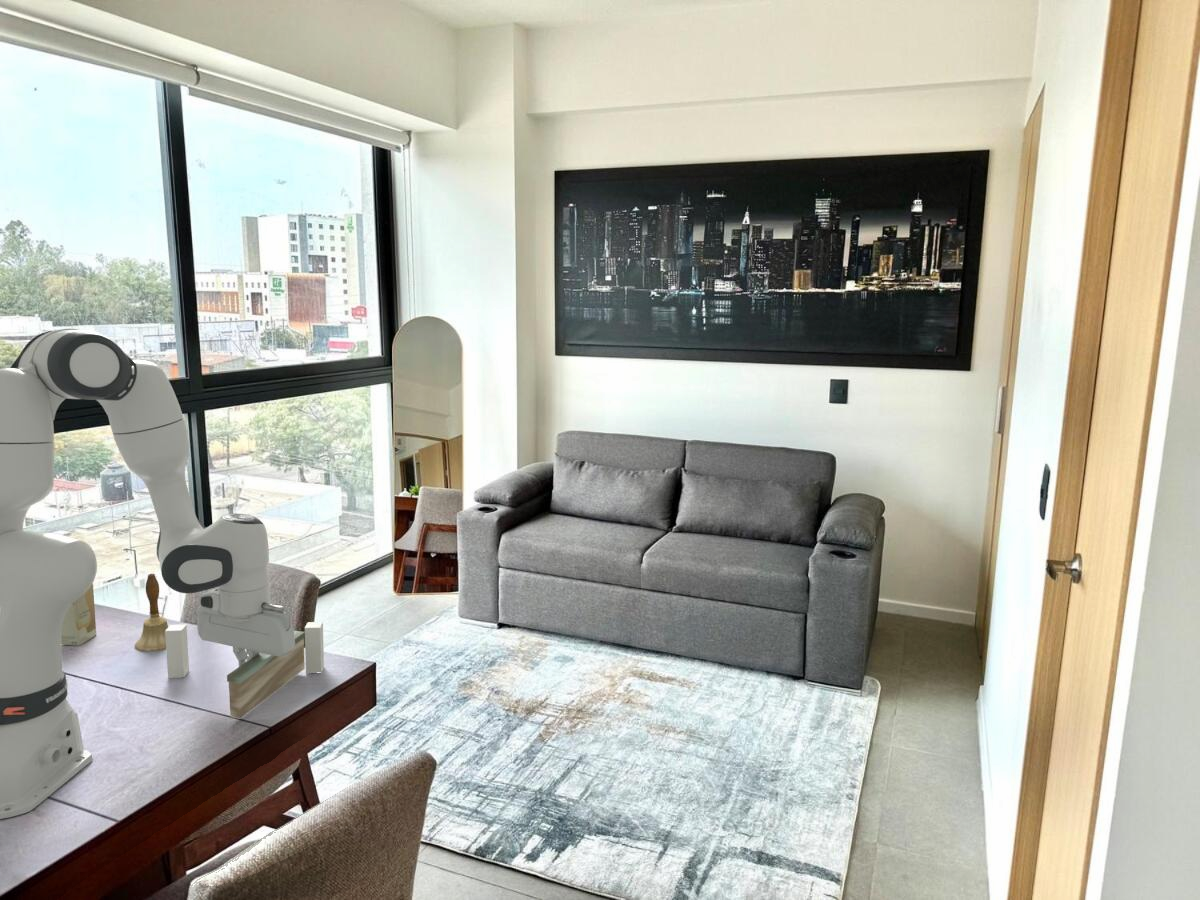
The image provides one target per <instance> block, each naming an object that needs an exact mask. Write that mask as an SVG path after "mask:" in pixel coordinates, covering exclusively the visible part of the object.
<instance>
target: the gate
mask: <svg viewBox="0 0 1200 900" xmlns="http://www.w3.org/2000/svg"><path fill="white" fill-rule="evenodd" d="M294 636H295V648H294V649H293V650H292V651H291V652H290V653H288V654H286V655H284V656H282V657H277V656H273V655H269V654H264V653H259V654H258V655H256V656H255V657H253V658H252V659H250V660H249V661H247V662H246V663H244V664H243V665H241V666H240V667H239V666H238V667H237V668H235V669H234V670H233V671H231V672H229V673H228V674H227V675H226V681H227V682H228V693H229V697H228V699H229V713H230V715H229V716H230V718H235V719H242V718H243V717H244V716H246V715H247V714H248V713H249V712H251V711H253V709H255V708H256V707H257V706H258V705H260V704H261V703H262V702H263V701H265V700H266V699H268V698H269V697H270V696H271V695H273V694H274V693H275V692H276V691H278V690H279V689H280V688H282V687H283V686H284V685H286V684H287V683H288V682H290V681H291V680H292V679H293V678H295V677H297V675H298V674H300V673H301V672H303V671H304V670H306V662H305V631H301V630H300V631H299V630H294Z"/></svg>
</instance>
